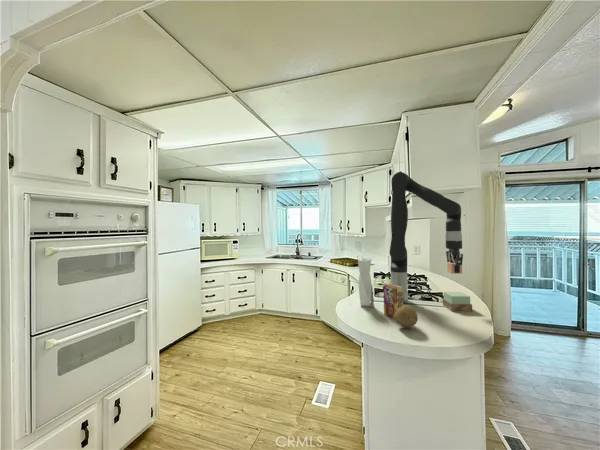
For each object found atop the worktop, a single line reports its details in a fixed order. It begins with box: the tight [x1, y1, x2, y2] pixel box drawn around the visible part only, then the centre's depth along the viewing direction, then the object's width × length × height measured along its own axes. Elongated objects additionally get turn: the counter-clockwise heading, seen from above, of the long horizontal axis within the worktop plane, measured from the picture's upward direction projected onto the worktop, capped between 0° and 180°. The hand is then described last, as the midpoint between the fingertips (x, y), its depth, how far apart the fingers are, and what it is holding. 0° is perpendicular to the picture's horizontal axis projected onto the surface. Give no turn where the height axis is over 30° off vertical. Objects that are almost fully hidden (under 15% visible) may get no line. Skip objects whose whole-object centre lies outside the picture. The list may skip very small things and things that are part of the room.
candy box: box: [383, 283, 404, 319], centre depth 125 cm, size 9×4×15 cm, turn 26°
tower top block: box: [443, 291, 471, 304], centre depth 134 cm, size 9×9×4 cm
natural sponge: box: [394, 304, 419, 330], centre depth 110 cm, size 9×9×10 cm
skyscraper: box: [356, 255, 375, 309], centre depth 143 cm, size 8×8×28 cm
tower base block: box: [442, 298, 473, 313], centre depth 134 cm, size 10×10×4 cm
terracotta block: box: [446, 262, 463, 275], centre depth 134 cm, size 5×5×5 cm
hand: (454, 271), depth 134 cm, fingers closed on terracotta block, 5 cm apart
